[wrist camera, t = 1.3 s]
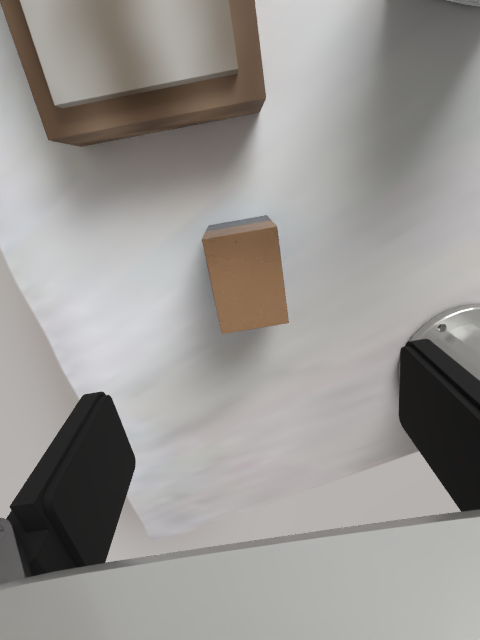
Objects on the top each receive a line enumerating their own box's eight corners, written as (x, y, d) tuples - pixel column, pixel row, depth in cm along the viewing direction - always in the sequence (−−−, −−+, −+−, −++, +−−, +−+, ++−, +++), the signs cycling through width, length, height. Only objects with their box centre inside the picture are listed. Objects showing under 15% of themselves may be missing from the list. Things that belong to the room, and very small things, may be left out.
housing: (266, 215, 28) (276, 226, 22) (276, 292, 31) (288, 322, 25) (208, 225, 29) (202, 239, 22) (223, 301, 31) (222, 333, 25)
